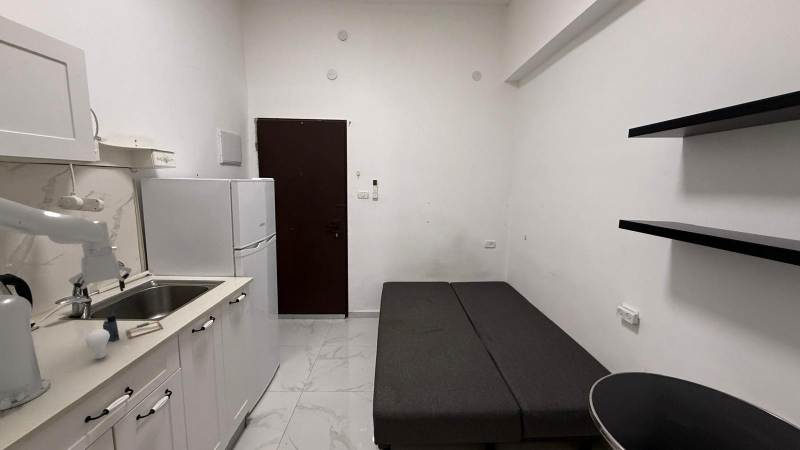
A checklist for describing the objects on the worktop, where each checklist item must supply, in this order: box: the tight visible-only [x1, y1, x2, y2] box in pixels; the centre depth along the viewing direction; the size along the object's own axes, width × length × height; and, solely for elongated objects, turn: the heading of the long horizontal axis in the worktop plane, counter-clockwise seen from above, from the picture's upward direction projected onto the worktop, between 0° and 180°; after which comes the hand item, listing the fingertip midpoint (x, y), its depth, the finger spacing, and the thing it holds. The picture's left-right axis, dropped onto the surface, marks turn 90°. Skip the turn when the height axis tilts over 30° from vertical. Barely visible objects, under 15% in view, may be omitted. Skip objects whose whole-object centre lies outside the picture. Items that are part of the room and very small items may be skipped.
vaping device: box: [102, 311, 120, 343], centre depth 117 cm, size 3×5×12 cm, turn 78°
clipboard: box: [125, 320, 164, 340], centre depth 126 cm, size 9×11×1 cm
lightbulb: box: [84, 328, 110, 359], centre depth 105 cm, size 6×6×11 cm
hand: (105, 293), depth 115 cm, fingers open, 9 cm apart
